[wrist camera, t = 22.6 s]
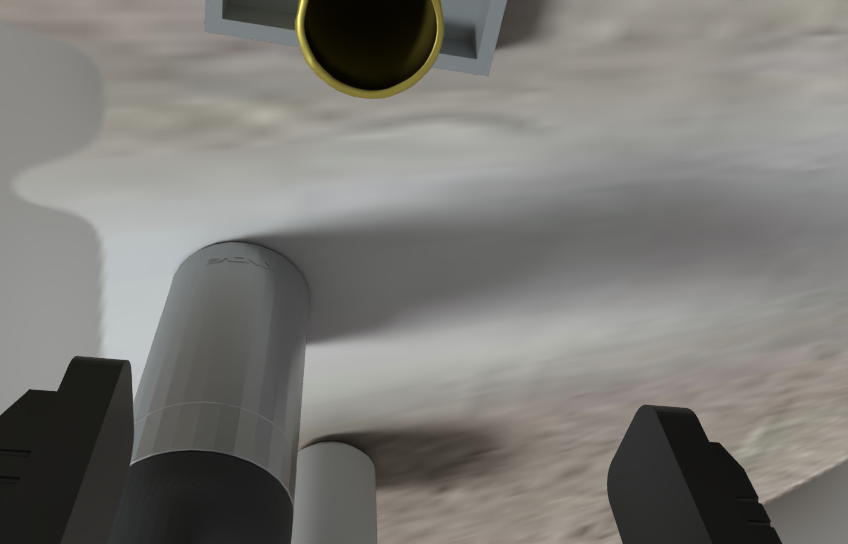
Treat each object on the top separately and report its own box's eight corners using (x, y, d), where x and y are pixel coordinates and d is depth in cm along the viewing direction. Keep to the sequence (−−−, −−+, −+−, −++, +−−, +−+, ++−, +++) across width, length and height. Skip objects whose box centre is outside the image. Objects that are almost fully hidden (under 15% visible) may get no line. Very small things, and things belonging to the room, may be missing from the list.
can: (389, 446, 62) (395, 581, 52) (356, 500, 66) (356, 635, 56) (301, 425, 60) (291, 562, 50) (272, 483, 64) (258, 620, 54)
